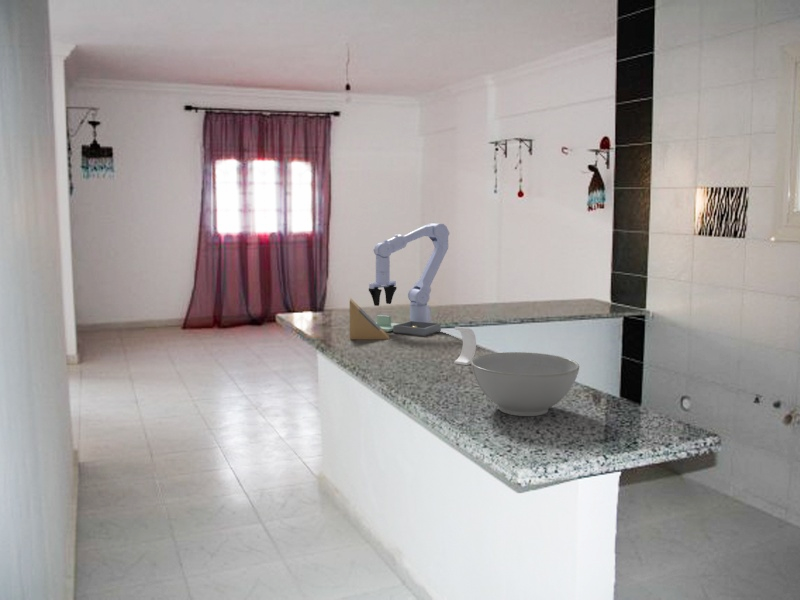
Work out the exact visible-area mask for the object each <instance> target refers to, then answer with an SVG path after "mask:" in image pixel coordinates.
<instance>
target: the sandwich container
mask: <svg viewBox="0 0 800 600" xmlns="http://www.w3.org/2000/svg"><path fill="white" fill-rule="evenodd" d="M375 322H376V321H375V320H374V319H373V318H372V317H370V316H369V314H367V313H366V312H365V311H364V310H363V308H361V307H360V305H358V304H357V302H355V301H354V299H352V298H351V297H350V298H349V339H350V340H390V335H389V334H388V332H385V331H384V330H383V329H382V328H381V327H380V326H379V325H377V324H376V323H375Z"/></svg>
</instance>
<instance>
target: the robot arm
mask: <svg viewBox="0 0 800 600" xmlns="http://www.w3.org/2000/svg"><path fill="white" fill-rule="evenodd" d="M449 235H450V231H449V229H448V227H447V225H446V224H444V223H437V222H436V223H434V222H430V223H428V224H425V225H422V226H421V227H419V228H416V229H414V230H413V231H411V232H409V233H407V234H404V235H403V234H397V233H396V234H394V235H393V237H391V238H389V239H384V240H383V242H378V243H376V244H375V246H374V249H373V253H374V255H375V282H372V283H368V284H369V285H368V286H369V288H368V292H369V293H370V295H371V298H372V301H373V305H374V306H376V307H380V299H381V294H382V291H383V290H384V295H385V303H386V304H387V305H391V304H392V301H393V298H394V295H395V293H396V290H397V286H396V285H397V284H396V283H397V282H396V281H395V280H391V278H390V275H391V272H390V266H391V265H390V263H391V262H390V256H391V255H392V254H393V253H396V252H398V251H400V250H402V249H404V248H406V247H407V244H408V243H411V242H412V241H416V240H417V239H421V238H422V237H428V238H429V239H430V240H431V242H432V245H433V246H434V248H433V250H432V252H431V254H430V257H429V259H428V261H427V263H426V264H425V267H424V269H423V271H422V273H421V276H420V278H419V279H418V281H417V282H415V284H414V285H413V286H412V288H411V289H409V290H408V293H407V298H408V300H409V301H410V303H409V321H417V322H428V323H432V322H431V321H432V320H431V314H432V313H431V312H432V311H431V307H430V305H428V303H429V301H430V294H431V291H432V288H431V285H432V283H433V281H434V279H435V276H436V274H437V273H438V271H439V269H440V266H441V264H442V263H443V260H444V258H445V256H446V254H447V252H448V250H449ZM380 288H383V289H380Z"/></svg>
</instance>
